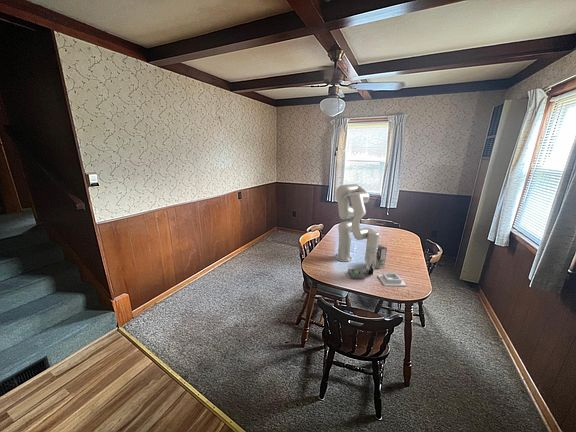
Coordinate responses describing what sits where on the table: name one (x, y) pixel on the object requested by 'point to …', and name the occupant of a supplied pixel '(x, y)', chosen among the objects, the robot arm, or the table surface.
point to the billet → (367, 269)
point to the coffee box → (380, 257)
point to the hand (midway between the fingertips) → (369, 272)
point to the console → (356, 276)
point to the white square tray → (391, 279)
